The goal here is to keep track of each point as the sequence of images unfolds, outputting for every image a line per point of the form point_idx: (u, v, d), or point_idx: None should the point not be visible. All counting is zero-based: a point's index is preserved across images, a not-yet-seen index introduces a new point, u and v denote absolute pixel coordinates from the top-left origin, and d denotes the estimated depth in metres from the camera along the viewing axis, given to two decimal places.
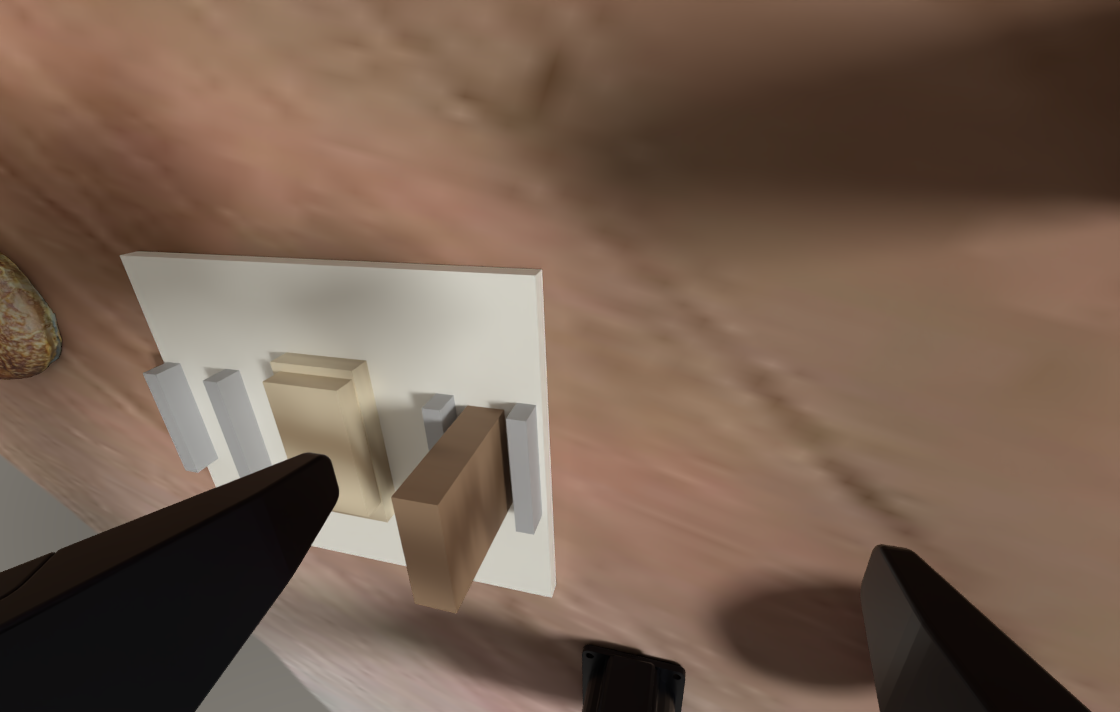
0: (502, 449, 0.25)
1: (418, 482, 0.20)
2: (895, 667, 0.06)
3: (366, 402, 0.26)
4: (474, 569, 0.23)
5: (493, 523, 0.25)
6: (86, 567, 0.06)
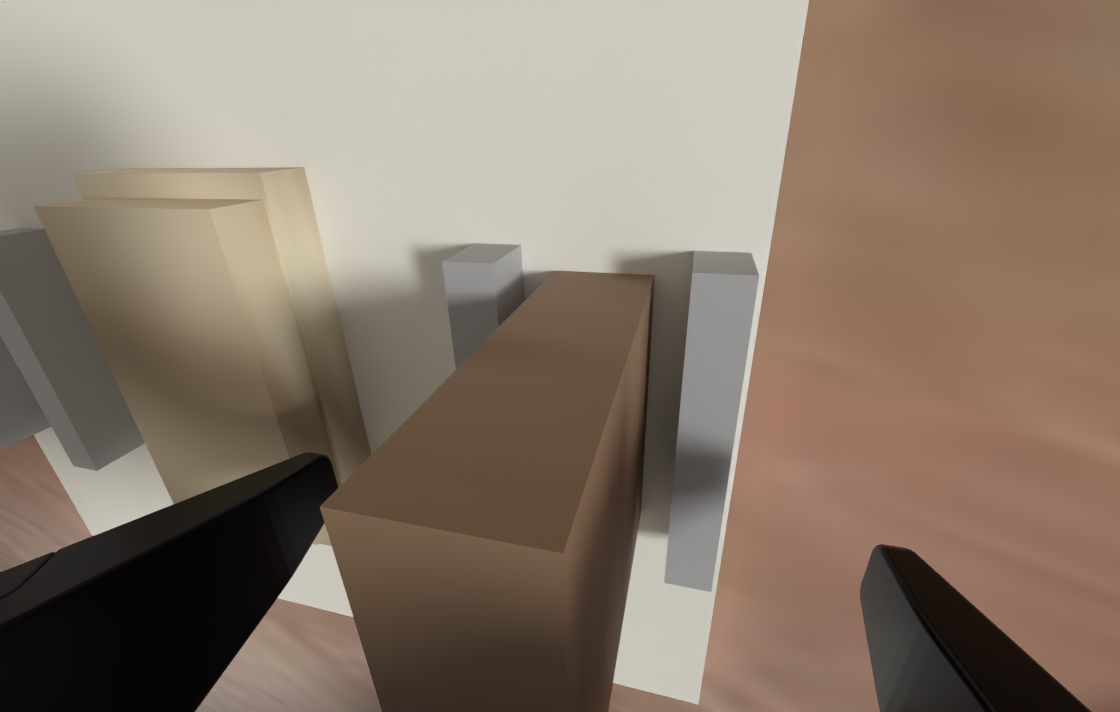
0: (646, 379, 0.10)
1: (448, 442, 0.05)
2: (895, 667, 0.06)
3: (306, 273, 0.11)
4: None
5: (627, 569, 0.09)
6: (86, 567, 0.06)
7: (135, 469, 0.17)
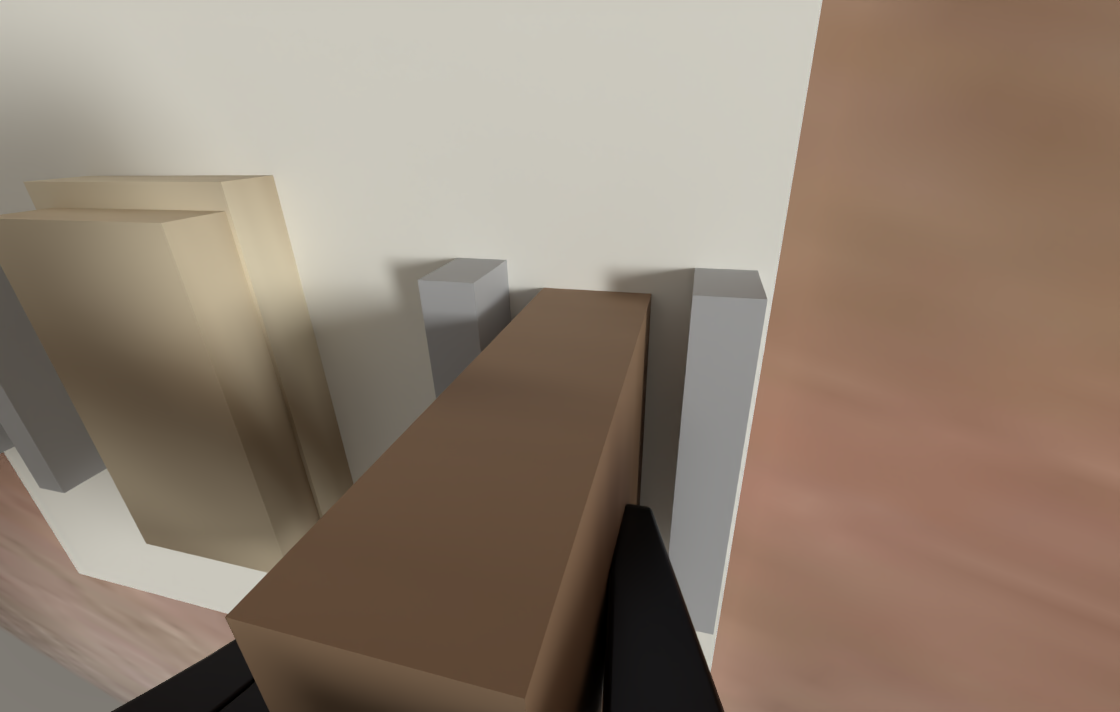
0: (642, 406, 0.09)
1: (398, 518, 0.04)
2: None
3: (276, 289, 0.10)
4: None
5: None
6: None
7: (108, 489, 0.16)
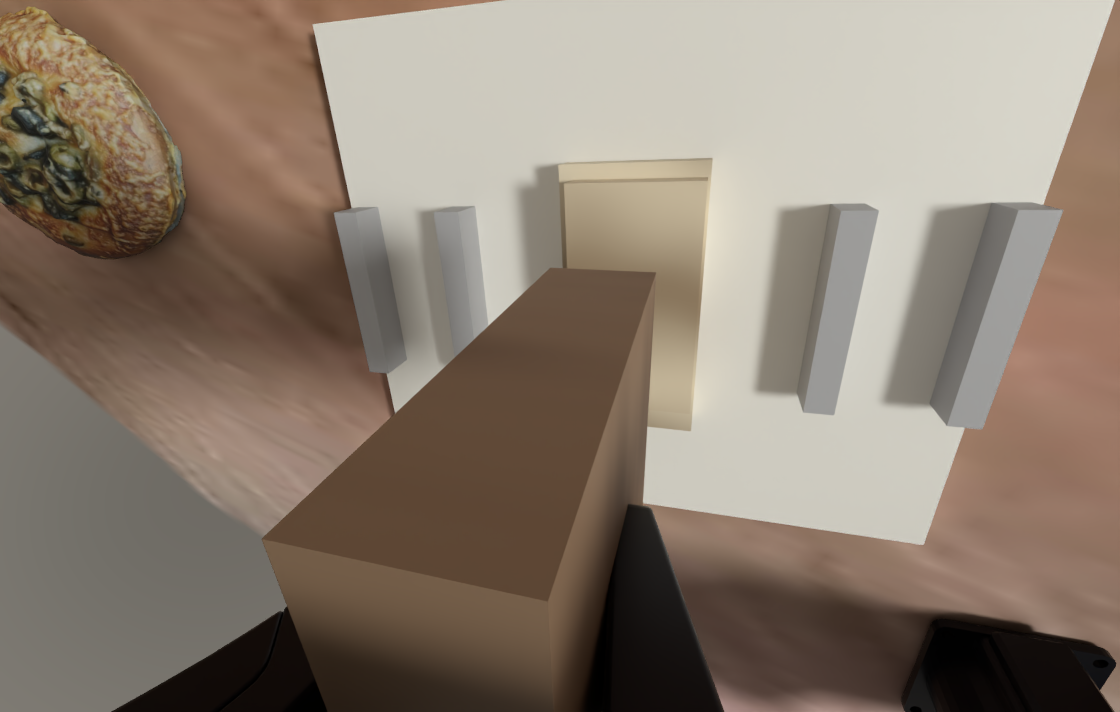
0: (647, 383, 0.09)
1: (420, 459, 0.04)
2: None
3: None
4: None
5: None
6: None
7: None
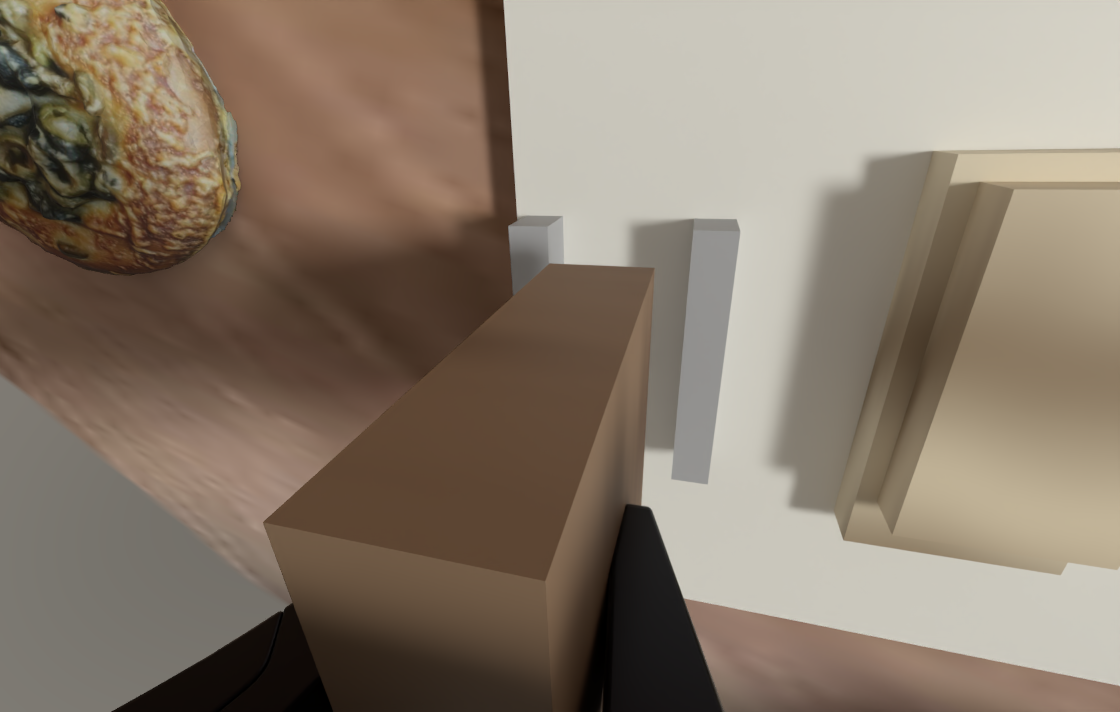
0: (646, 378, 0.09)
1: (419, 447, 0.04)
2: None
3: None
4: None
5: None
6: None
7: (665, 481, 0.16)
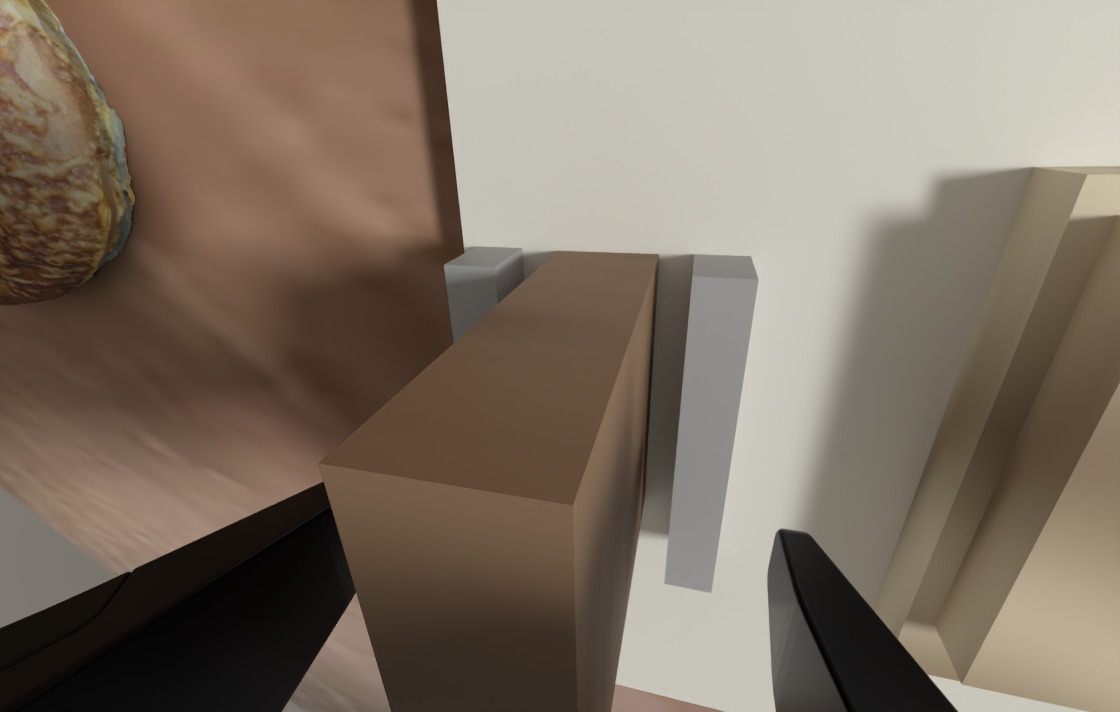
0: (650, 360, 0.10)
1: (451, 404, 0.04)
2: (781, 643, 0.06)
3: None
4: (609, 701, 0.07)
5: (632, 553, 0.09)
6: (167, 589, 0.06)
7: (658, 571, 0.13)
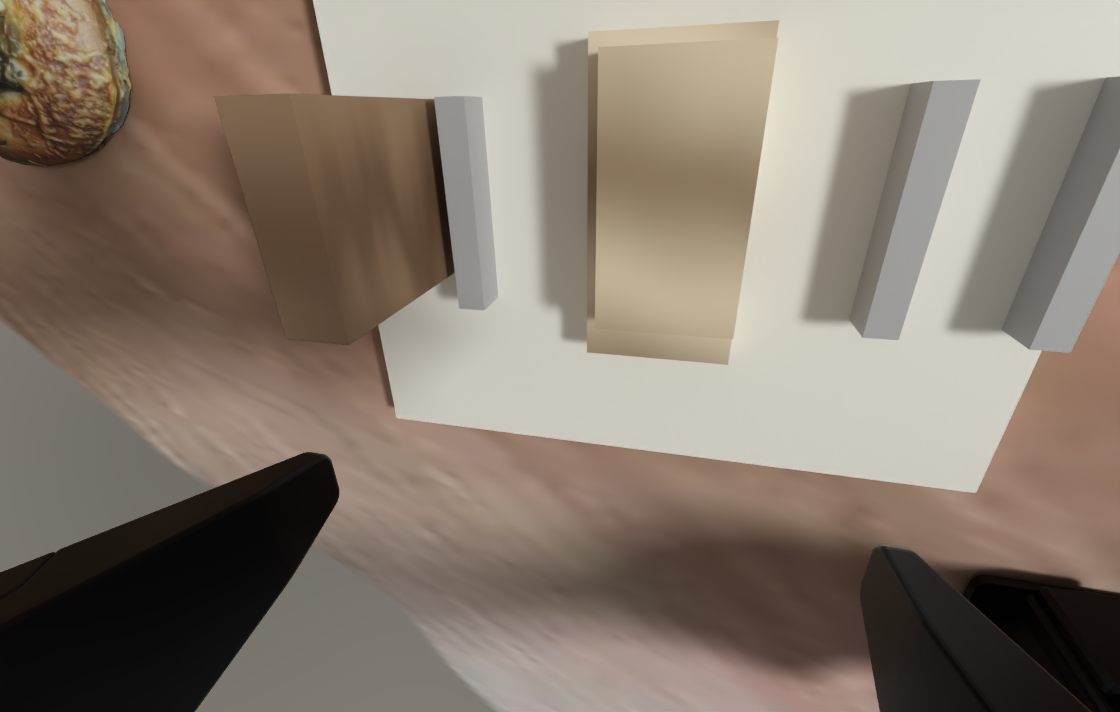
0: (436, 162, 0.17)
1: None
2: (895, 667, 0.06)
3: None
4: (385, 305, 0.15)
5: (422, 267, 0.17)
6: (86, 567, 0.06)
7: (474, 325, 0.20)
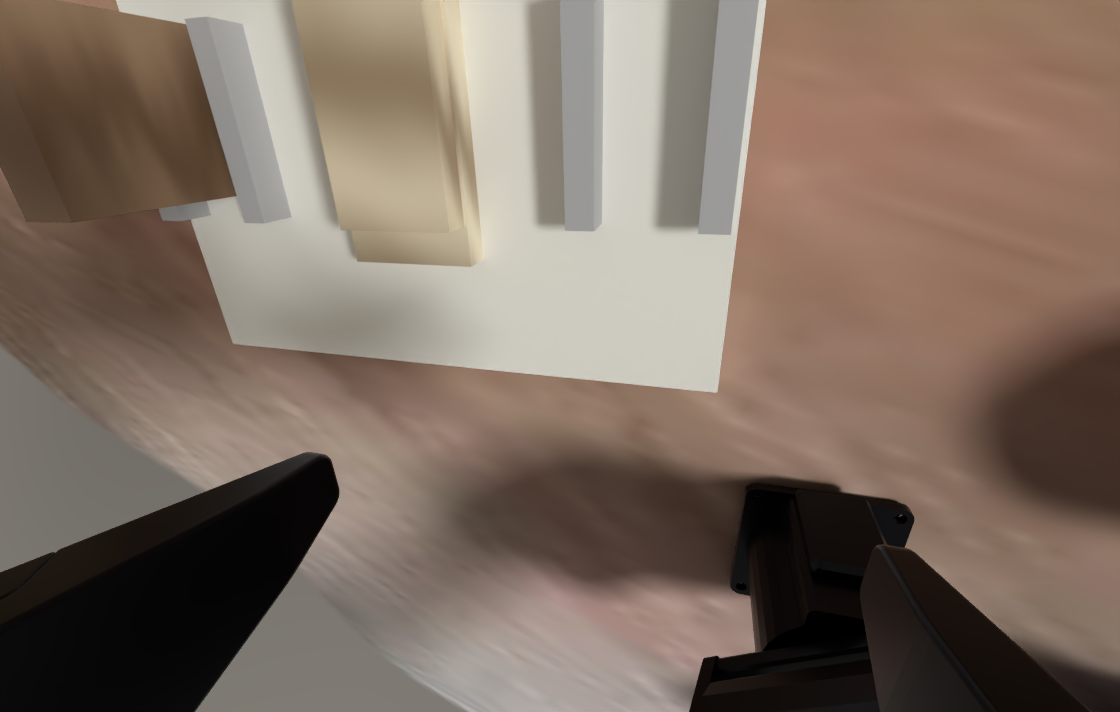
0: None
1: None
2: (895, 667, 0.06)
3: (452, 21, 0.16)
4: (132, 199, 0.17)
5: (192, 177, 0.19)
6: (86, 567, 0.06)
7: (277, 247, 0.22)
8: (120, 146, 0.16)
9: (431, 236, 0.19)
